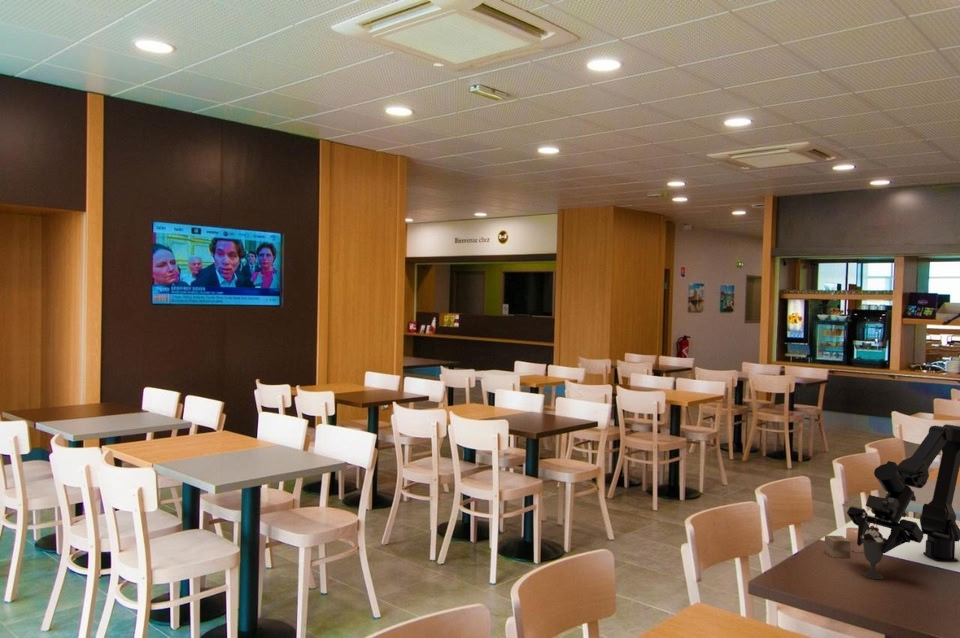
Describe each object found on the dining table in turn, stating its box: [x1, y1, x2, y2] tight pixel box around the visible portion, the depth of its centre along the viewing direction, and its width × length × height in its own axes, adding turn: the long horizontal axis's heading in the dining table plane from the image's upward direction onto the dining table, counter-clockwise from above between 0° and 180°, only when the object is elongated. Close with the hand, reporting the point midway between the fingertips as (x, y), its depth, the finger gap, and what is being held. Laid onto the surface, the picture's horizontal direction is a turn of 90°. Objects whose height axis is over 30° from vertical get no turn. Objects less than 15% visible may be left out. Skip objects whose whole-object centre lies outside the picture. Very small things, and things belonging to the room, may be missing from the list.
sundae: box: [860, 519, 888, 580], centre depth 196 cm, size 7×7×15 cm
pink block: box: [845, 527, 864, 553], centre depth 218 cm, size 5×5×6 cm
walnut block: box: [824, 535, 851, 559], centre depth 213 cm, size 5×5×5 cm
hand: (870, 548), depth 195 cm, fingers closed on sundae, 6 cm apart
